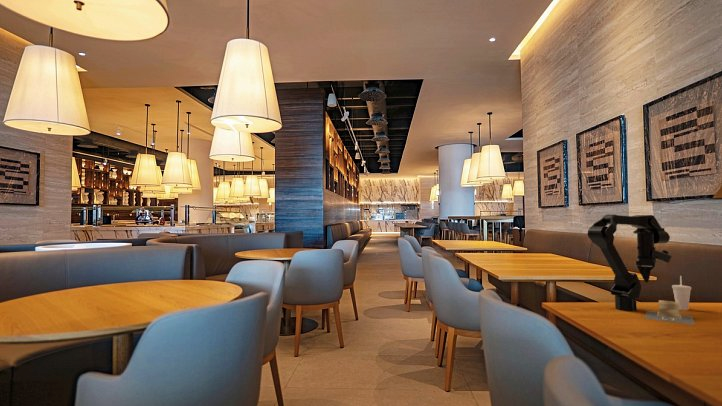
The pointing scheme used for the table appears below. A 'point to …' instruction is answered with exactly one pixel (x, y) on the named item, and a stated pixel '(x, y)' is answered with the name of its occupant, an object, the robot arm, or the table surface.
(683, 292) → the smoothie
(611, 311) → the table surface
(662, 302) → the maple block
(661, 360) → the table surface
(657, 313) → the board
